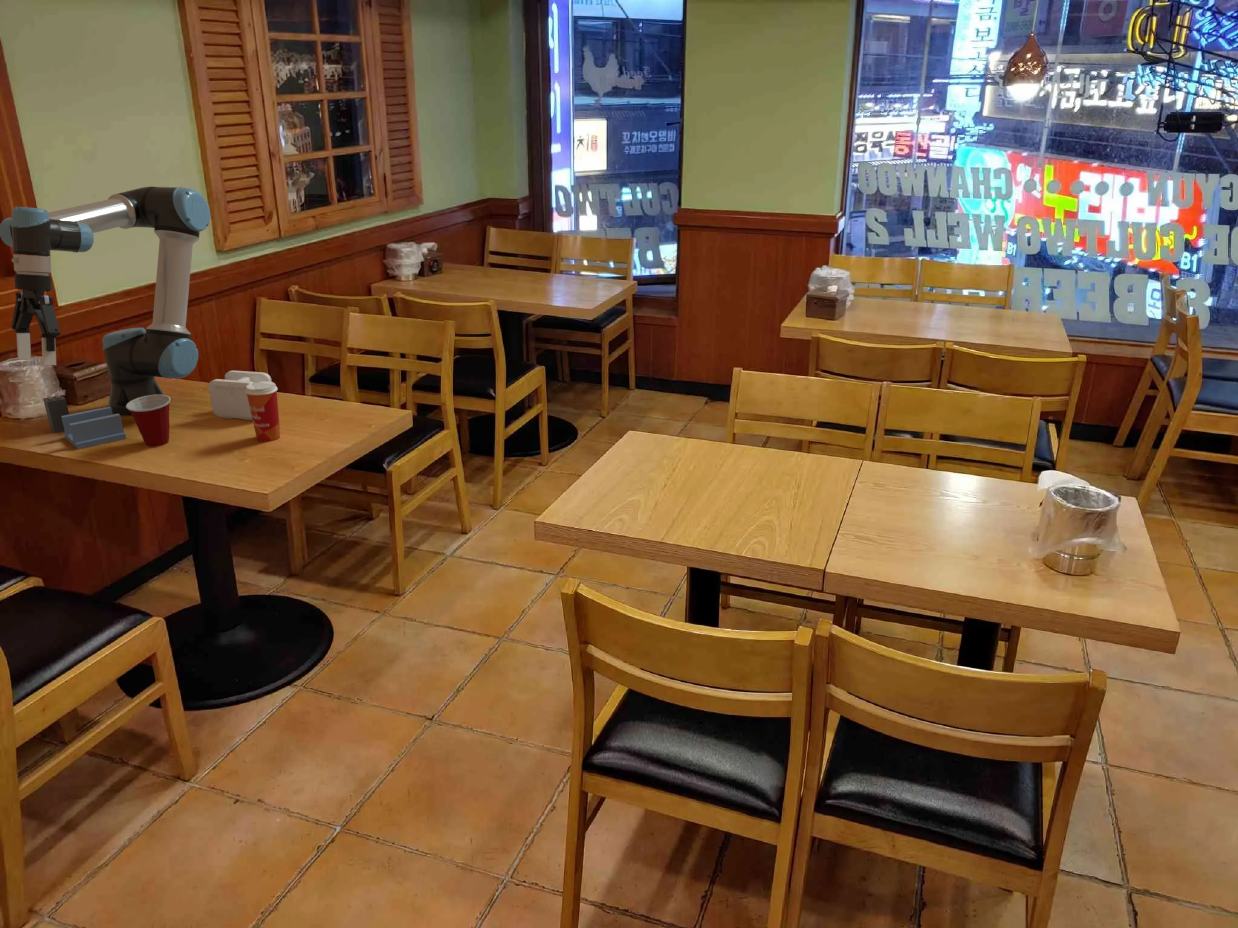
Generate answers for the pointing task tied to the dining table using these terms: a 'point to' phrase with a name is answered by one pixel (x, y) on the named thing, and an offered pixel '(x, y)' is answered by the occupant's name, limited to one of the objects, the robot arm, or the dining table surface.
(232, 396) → the cable organizer
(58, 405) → the plug
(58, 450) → the dining table surface
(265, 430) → the coffee cup
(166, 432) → the plastic cup
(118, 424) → the holder
